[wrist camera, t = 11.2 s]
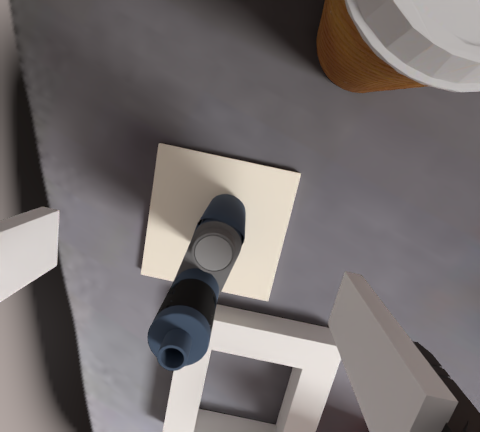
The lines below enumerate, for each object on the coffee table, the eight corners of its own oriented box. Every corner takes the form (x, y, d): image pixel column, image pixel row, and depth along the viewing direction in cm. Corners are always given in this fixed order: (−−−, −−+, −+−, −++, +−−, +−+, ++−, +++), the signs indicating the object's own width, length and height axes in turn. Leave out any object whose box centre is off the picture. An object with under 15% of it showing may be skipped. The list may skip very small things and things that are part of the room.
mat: (161, 143, 21) (158, 143, 20) (299, 172, 21) (301, 173, 20) (143, 271, 23) (140, 274, 23) (267, 297, 23) (268, 301, 23)
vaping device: (189, 249, 22) (124, 372, 10) (217, 186, 21) (179, 244, 9) (221, 263, 22) (192, 398, 11) (251, 201, 21) (254, 276, 9)
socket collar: (190, 298, 24) (184, 313, 22) (336, 329, 24) (344, 347, 22) (166, 424, 27) (159, 448, 25) (296, 451, 27) (299, 478, 25)
